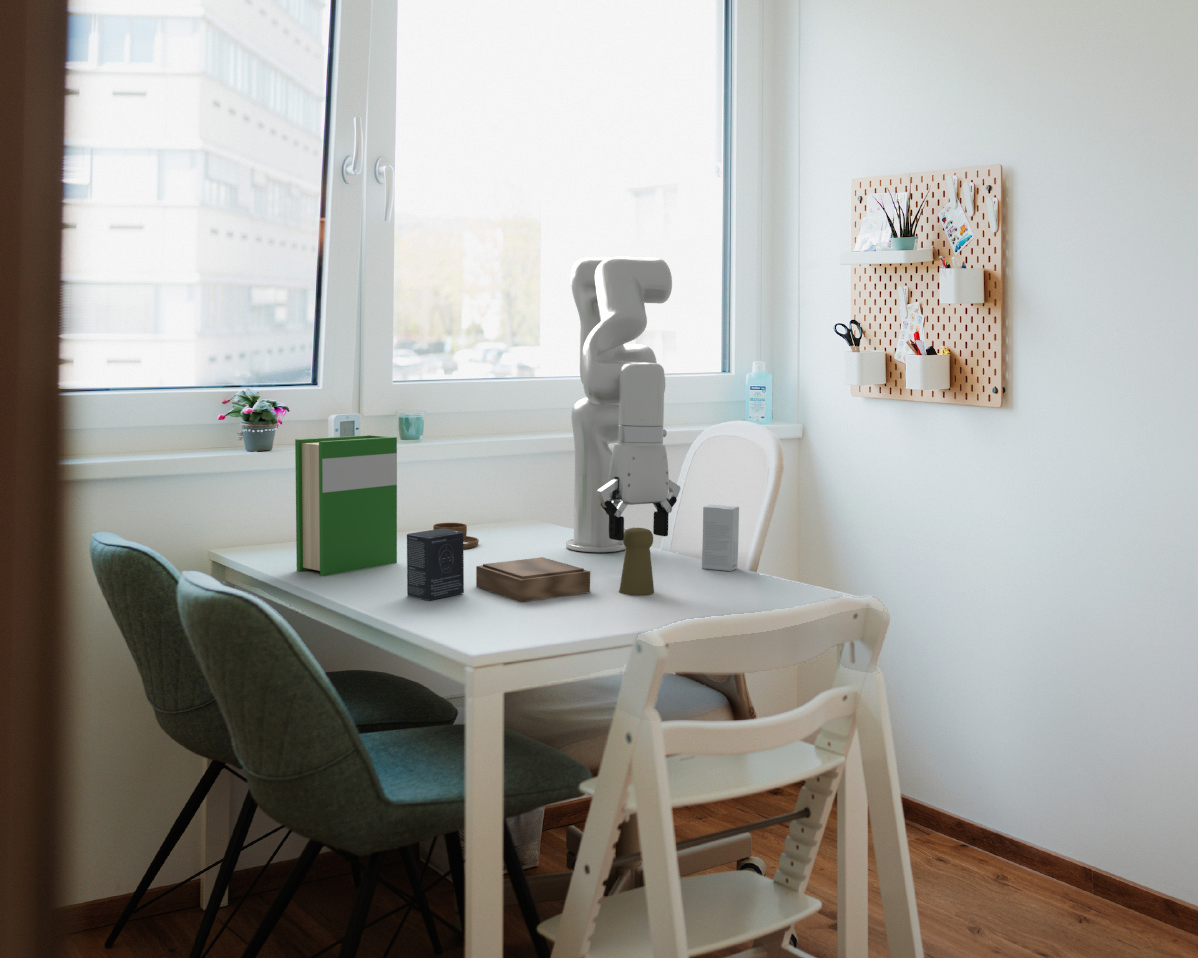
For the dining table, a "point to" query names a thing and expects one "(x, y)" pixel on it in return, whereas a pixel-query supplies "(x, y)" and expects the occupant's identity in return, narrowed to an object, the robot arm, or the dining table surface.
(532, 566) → the walnut plinth
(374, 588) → the dining table surface
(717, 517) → the skincare box
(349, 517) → the hardback book
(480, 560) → the dining table surface
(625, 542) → the cork
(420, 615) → the dining table surface
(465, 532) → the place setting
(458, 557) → the box
